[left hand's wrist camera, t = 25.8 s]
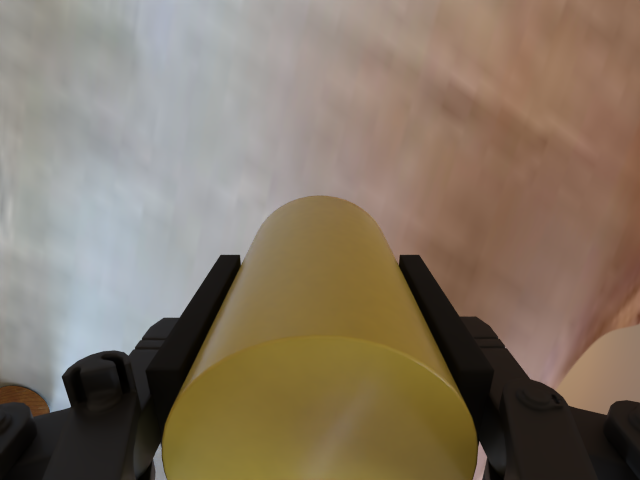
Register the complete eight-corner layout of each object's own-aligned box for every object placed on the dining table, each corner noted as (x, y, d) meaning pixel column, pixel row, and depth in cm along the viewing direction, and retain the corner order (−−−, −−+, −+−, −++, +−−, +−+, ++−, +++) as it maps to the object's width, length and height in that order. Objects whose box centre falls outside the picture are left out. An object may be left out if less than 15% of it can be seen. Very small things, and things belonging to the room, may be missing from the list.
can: (417, 259, 16) (543, 464, 7) (322, 343, 18) (325, 598, 9) (316, 164, 15) (310, 266, 6) (223, 264, 16) (98, 473, 7)
